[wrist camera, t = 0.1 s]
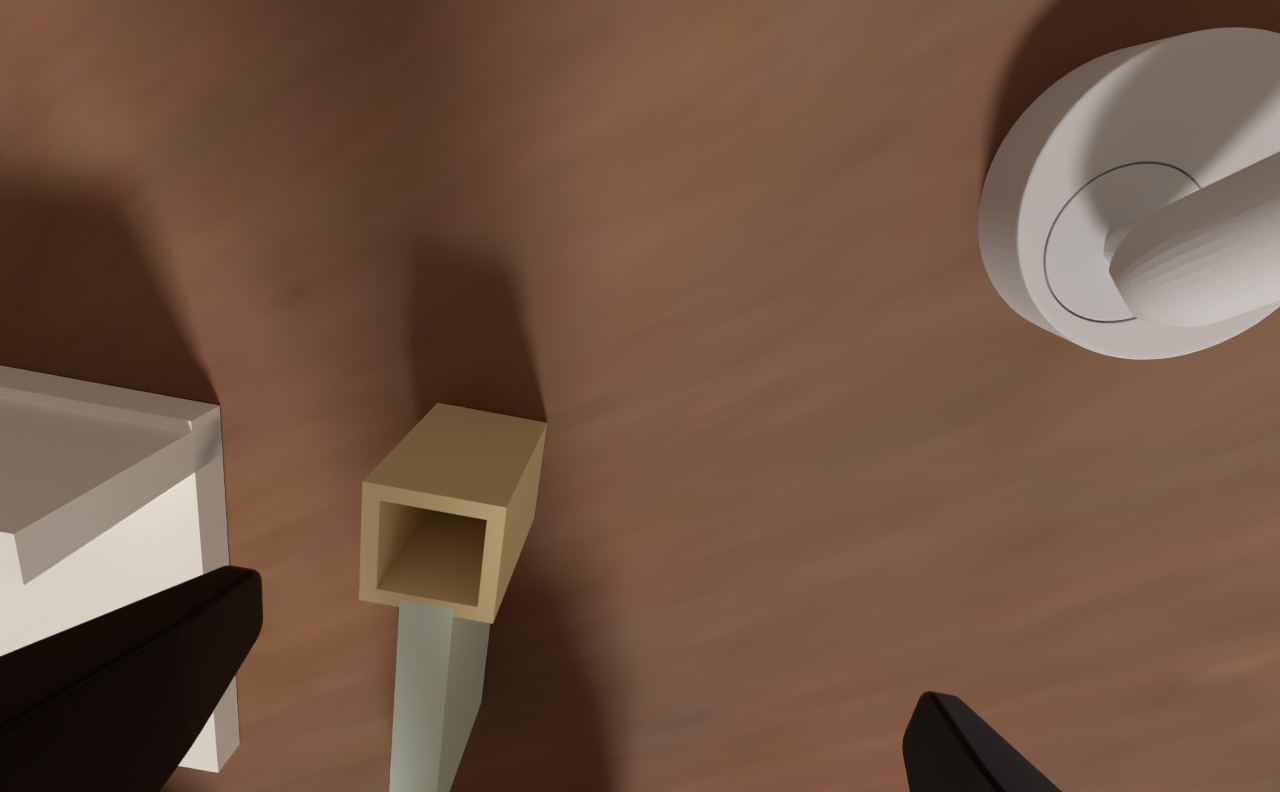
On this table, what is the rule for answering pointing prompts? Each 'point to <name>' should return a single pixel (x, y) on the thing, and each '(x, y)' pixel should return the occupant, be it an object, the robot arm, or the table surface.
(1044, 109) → the wall hook
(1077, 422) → the table surface
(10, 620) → the l-shaped pin bracket
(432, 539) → the square socket tool
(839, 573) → the table surface
